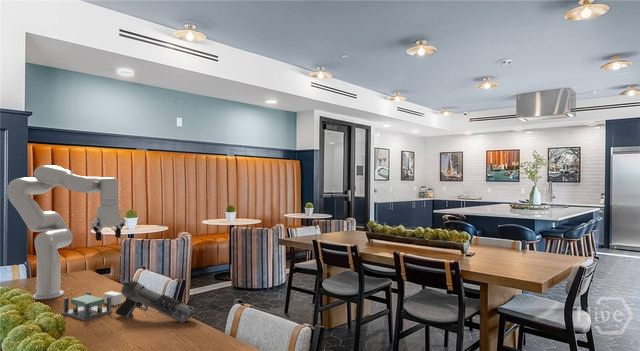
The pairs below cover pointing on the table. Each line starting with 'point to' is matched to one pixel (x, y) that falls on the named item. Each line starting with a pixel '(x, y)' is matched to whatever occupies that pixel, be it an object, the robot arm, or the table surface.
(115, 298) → the riser
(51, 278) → the robot arm
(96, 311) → the chassis
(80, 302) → the board
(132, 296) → the firearm
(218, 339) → the table surface
